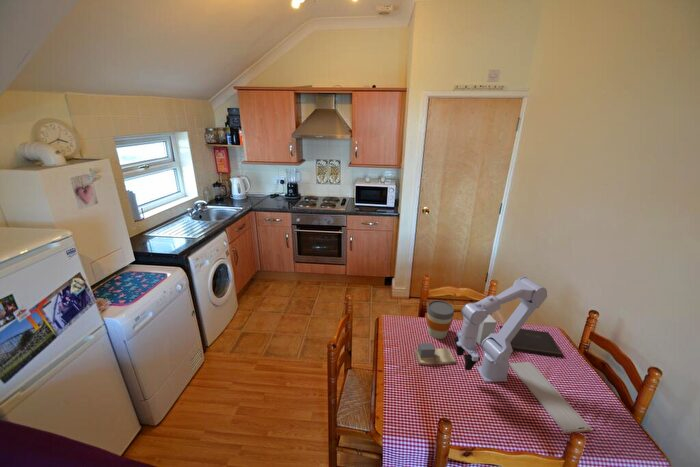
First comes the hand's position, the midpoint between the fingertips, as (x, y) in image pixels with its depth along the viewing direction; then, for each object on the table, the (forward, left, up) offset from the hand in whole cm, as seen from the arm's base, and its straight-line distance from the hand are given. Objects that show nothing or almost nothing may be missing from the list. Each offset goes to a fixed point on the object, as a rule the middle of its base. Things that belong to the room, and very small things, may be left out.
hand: (463, 362), depth 118 cm
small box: (-21, -24, -10) cm, 33 cm away
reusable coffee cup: (-1, -30, -10) cm, 32 cm away
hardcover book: (-43, -21, -11) cm, 49 cm away
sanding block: (+10, -14, -9) cm, 19 cm away
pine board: (+6, -14, -10) cm, 18 cm away
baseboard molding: (-32, +8, -11) cm, 34 cm away
